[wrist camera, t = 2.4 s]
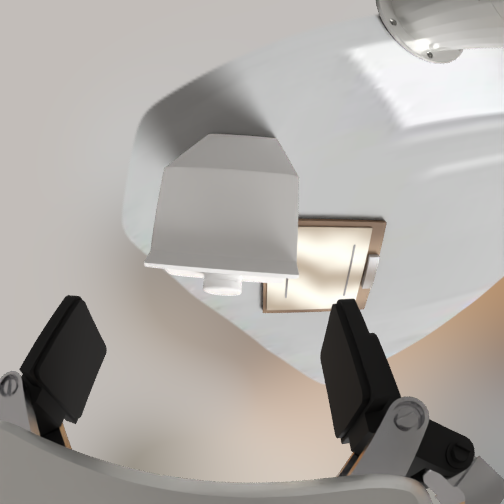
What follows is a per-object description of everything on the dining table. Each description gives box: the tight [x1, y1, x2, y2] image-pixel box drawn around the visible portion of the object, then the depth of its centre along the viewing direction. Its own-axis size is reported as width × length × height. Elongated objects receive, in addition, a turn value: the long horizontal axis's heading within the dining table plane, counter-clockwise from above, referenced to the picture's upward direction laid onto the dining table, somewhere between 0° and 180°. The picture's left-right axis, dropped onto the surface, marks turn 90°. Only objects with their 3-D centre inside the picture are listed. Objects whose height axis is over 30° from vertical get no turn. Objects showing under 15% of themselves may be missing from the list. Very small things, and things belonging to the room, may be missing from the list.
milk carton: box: [144, 134, 299, 296], centre depth 20 cm, size 7×7×19 cm
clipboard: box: [263, 219, 386, 313], centre depth 34 cm, size 14×15×1 cm
